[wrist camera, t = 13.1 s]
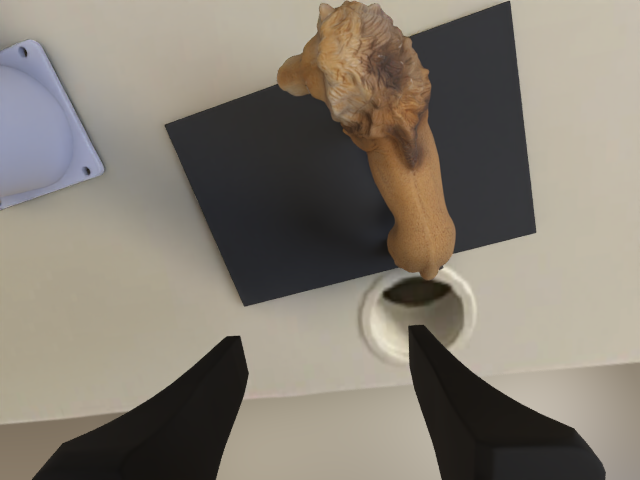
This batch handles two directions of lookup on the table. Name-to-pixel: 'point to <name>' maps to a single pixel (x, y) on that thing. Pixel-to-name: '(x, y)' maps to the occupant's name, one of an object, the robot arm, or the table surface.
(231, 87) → the table surface
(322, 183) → the desk mat
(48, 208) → the table surface
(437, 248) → the lion figurine
